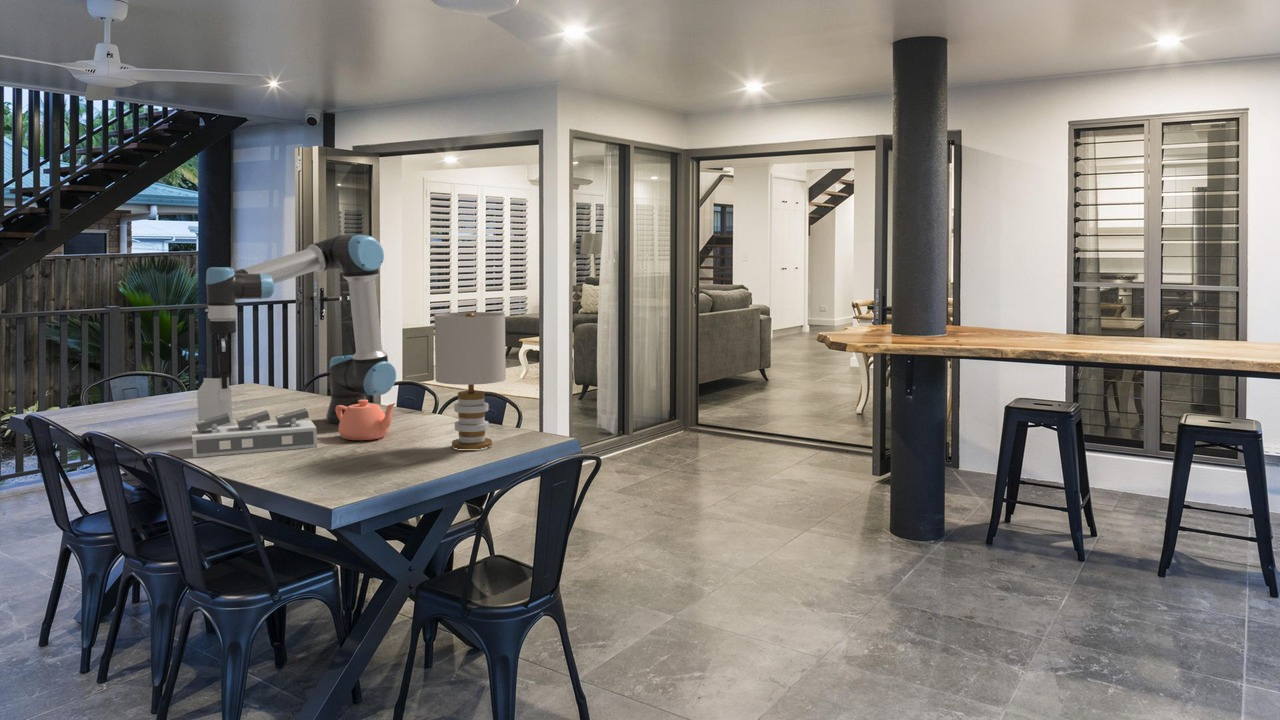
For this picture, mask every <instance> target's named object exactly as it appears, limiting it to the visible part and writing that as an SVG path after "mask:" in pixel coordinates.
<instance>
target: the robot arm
mask: <svg viewBox="0 0 1280 720" xmlns="http://www.w3.org/2000/svg"><path fill="white" fill-rule="evenodd" d="M384 259H385V253H384V249H383V247H382V244H381V243H380V242H379V241H378V240H377V239H376V238H375V237H374V236H371V235H364V234H351V235H350V234H347V235H346V234H339V235H335V236H332V237H329V238H326V239H324V240H320V241H319V242H315V243H312V244H310V245H309V244H308V246H307V247H306V249H303V250H300V251H297V252H293V253H289V254H287V255H286V254H285V255H283V256H279V257H277V258H273V259H270V260H267V261H263V262H260V263H257V264H254V265H251V266H247V267H244V268H241V269H236V270H234V268H233V267H228V266H227V267H226V266H225V267H222V266H221V267H219V266H217V267H215V266H213V267H211V266H210V267H209V268H207V270H206V274H205V276H206V277H205V284H206V300H207V301H206V302H207V303H206V304H207V305H206V306H207V308H205V309H204V311H205V312H206V313H207V318H208V319H209V321H208V322H207V330H208V331H207V332H208V333H209V334H211V335H216V334H217V338H215V339H214V343H215V344H214V345H215V350H216V354H217V358H218V359H217V361H218V375H216V378H217V379H219V395H220V400H224V399H230V391H229V388H230V377H231V376H232V374H231V373H230V366H229V364H230V363H229V362H230V361H229V355H230V354H231V352H230V346H231V339H230V338H228V335H229V334H236V332H237V324H236V323H237V322H236V320H235V319H236V317H237V315H236V311H237V310H236V300H254V299H255V300H257V299H258V300H263V299H269V298H271V297H272V296H273V294H274V292H275V284H278V283H281V282H284V281H287V280H291V279H294V278H297V277H300V276H302V275H303V276H304V275H306V274H309V273H313V272H316V273H322V272H325V271H332V270H340V271H342V278H343V279H345V280H346V281H347V283H348V289H349V299H350V308H351V317H352V327H353V334H354V335H353V337H354V345H355V353H354V354H350V355H342V356H340V355H339V356H333V357H331V359H330V360H329V378H330V380H329V381H330V402H329V406H328V408H327V412H326V422H327V423H331V424H336V425H337V424H338V425H339V424H340V420H339V418H338V416H337V414H336V410H335V408H336V406H337V405H343V406H346V407H348V406H350V405H355V404H359V402H358V400H367V397H366V395H369V396H383V395H385V394H387V393H389V392H390V391H391V390H392V388H393V387H394V385H395V384H396V380H397V371H396V367H394V365H393V364H392V363H390V362H389V357H388V353H387V352H386V351H385V350H383V345H382V335H381V327H380V326H381V325H380V324H381V323H380V316H379V308H378V297H377V288H376V278H377V277H378V276H379V275H380V272H379V268H380V267H382V263H383V262H384ZM367 404H369V402H368V403H367ZM344 412H345V410H343V409H342V414H344Z"/></svg>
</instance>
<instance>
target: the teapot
mask: <svg viewBox="0 0 1280 720" xmlns="http://www.w3.org/2000/svg"><path fill="white" fill-rule="evenodd" d="M358 402H359V404H355V405H350V406H348V407H346V406H343V405H337V406H336V408H335V410H336V414H337V416H338V418H339V420H340V424H338V433H339V435H340V436H341V437H342V439H345V440H348V441H349V440H350V441H363V440H369V441H373V440H376V439H377V440H378V439H381V438H384V437H385V436H386V434H387V433H388V432H389V430H390V426H391V425H392V419H393V418H392V415H393V414H392V413H393V412H392V411H393V408H394V406H395V405H396V404H397V402H395V403H394V402H393V403H390V404H388V405H387V406H386V409H385V412H384V411H383V409H382V408H381V406H380V405H378V404H377V403H369V400H368V399H366V400H358ZM367 403H368V404H367ZM342 409H343V410H345V412H344V414H342Z"/></svg>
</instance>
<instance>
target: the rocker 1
mask: <svg viewBox="0 0 1280 720" xmlns="http://www.w3.org/2000/svg"><path fill="white" fill-rule="evenodd" d="M227 423H230V418H229V415H228V413H225V414H222V415H218V416H215V417H212V418H208V419H205V420H201V421H199V420H198V421H196V422H195V427H196V428H197V429H198V432H200V431H203V430H207V429H210V428H213V429H216V428H217V426H220V425H223V424H227Z"/></svg>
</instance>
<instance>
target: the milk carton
mask: <svg viewBox="0 0 1280 720" xmlns="http://www.w3.org/2000/svg"><path fill="white" fill-rule="evenodd" d="M229 391H230V399H224V400H220V395H219V378H217V377H216V378H214V377H213V378H212V377H211V378H210V377H203V381H202V383H201V385H200V387H199V388H198V390H197V391H196V397H197V398H196V399H197V400H196V401H197V413H198V414H197V415H198V417H197V418H198V421H201V420H205V419H208V418H212V417H215V416H218V415H222V414H225V413H228V415H229V418H230V423H227V424H223V425H220V426H217V427H221V426H234V425H233V424H234V422H233V406H232V405H233V403H232V389H231V388H230V387H229Z"/></svg>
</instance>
